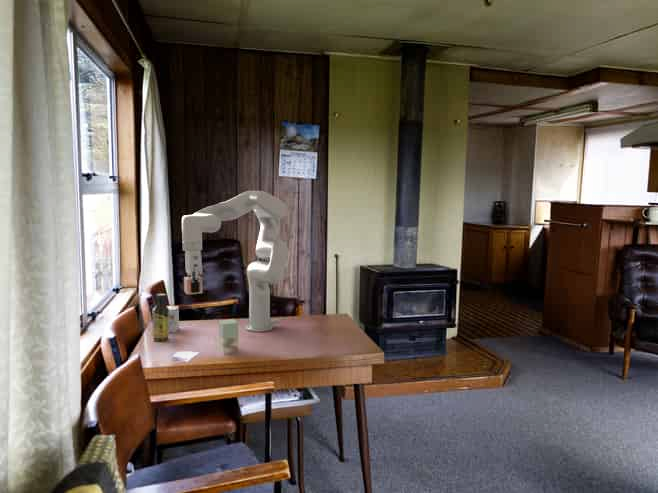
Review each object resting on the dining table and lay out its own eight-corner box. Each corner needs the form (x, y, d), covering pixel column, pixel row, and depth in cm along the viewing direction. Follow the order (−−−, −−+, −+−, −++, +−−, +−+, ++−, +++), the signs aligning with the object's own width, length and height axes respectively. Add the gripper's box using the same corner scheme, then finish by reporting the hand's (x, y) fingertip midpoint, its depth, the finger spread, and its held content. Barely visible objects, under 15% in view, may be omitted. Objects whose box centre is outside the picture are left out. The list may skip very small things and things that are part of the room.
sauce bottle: (150, 340, 210) (149, 294, 208) (161, 336, 216) (160, 292, 213) (161, 342, 207) (160, 296, 205) (172, 339, 212) (171, 293, 210)
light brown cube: (199, 290, 203) (199, 275, 202) (202, 293, 197) (202, 278, 197) (184, 291, 200) (184, 277, 199) (187, 294, 195) (187, 279, 194)
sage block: (233, 333, 202) (233, 319, 201) (238, 337, 196) (238, 322, 196) (219, 335, 199) (219, 320, 198) (223, 339, 194) (223, 324, 193)
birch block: (233, 347, 202) (233, 333, 202) (238, 352, 197) (238, 337, 196) (219, 349, 200) (219, 335, 199) (223, 354, 194) (223, 339, 194)
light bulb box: (151, 332, 222) (151, 309, 220) (155, 328, 228) (155, 305, 227) (176, 332, 223) (175, 309, 221) (179, 328, 229) (179, 305, 228)
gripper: (206, 248, 190) (208, 294, 193) (197, 243, 206) (198, 286, 208) (187, 249, 187) (188, 295, 189) (178, 244, 202) (179, 287, 204)
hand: (193, 290), depth 198 cm, fingers closed on light brown cube, 6 cm apart
